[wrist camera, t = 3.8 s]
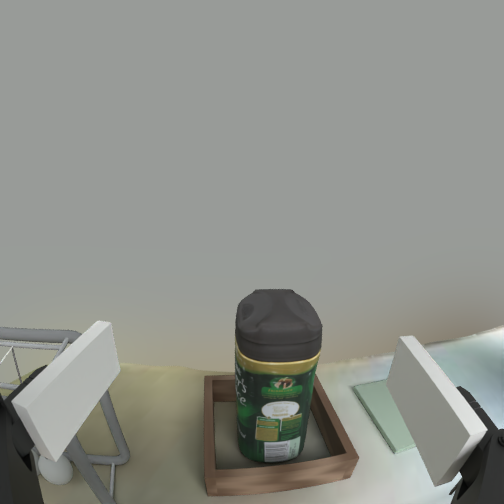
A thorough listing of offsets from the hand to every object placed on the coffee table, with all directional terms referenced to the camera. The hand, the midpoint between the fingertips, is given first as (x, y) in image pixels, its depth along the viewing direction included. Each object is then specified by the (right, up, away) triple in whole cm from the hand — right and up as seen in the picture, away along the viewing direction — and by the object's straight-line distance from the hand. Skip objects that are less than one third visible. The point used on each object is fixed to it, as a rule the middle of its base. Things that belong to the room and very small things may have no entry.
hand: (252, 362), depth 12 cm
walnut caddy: (+2, -18, +19) cm, 26 cm away
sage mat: (+23, -17, +21) cm, 36 cm away
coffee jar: (+2, -18, +19) cm, 26 cm away
